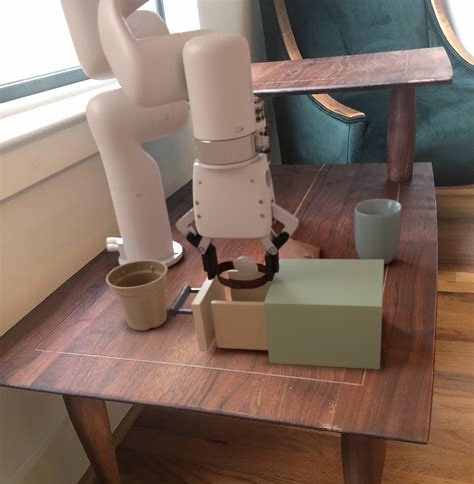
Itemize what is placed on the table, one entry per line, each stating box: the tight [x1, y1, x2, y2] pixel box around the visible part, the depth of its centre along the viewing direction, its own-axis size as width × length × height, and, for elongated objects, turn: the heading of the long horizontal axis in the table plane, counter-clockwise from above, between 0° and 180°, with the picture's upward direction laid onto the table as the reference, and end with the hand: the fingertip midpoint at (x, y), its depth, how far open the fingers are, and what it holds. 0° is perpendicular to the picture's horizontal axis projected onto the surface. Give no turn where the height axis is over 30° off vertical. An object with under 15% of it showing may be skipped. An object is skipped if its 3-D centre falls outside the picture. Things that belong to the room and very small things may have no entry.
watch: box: [215, 255, 268, 290], centre depth 75 cm, size 8×5×4 cm, turn 68°
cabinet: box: [264, 258, 385, 370], centre depth 75 cm, size 15×13×10 cm
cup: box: [353, 198, 403, 266], centre depth 94 cm, size 8×8×10 cm
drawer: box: [167, 270, 272, 353], centre depth 79 cm, size 18×11×8 cm, turn 76°
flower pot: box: [105, 260, 169, 331], centre depth 85 cm, size 9×9×9 cm
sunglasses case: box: [278, 237, 322, 262], centre depth 95 cm, size 18×7×7 cm
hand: (242, 275), depth 75 cm, fingers closed on watch, 7 cm apart
